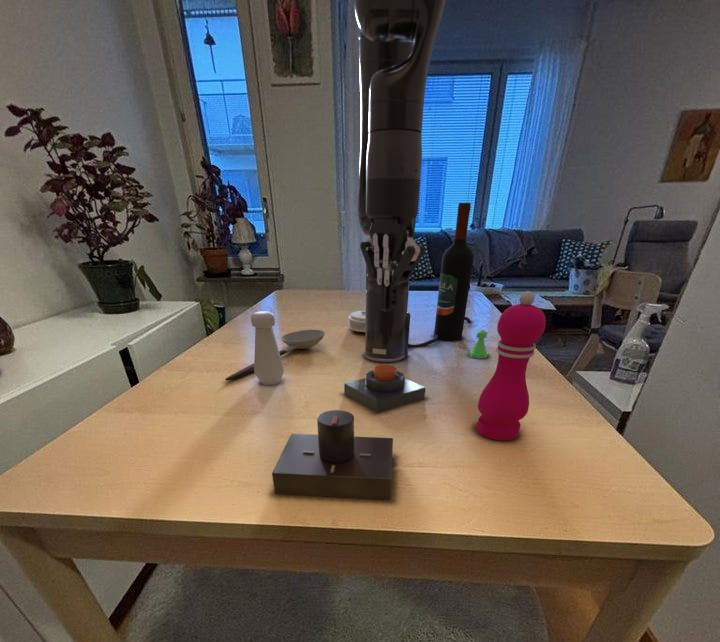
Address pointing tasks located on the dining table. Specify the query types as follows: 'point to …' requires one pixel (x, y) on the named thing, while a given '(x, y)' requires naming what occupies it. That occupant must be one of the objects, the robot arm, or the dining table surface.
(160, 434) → the dining table surface
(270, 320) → the salt shaker
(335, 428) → the dial
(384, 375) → the button
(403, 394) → the button block
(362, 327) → the lid
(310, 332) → the spoon
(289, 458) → the dial panel
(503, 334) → the pepper mill
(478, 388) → the dining table surface
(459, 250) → the wine bottle
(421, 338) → the dining table surface
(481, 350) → the game piece
